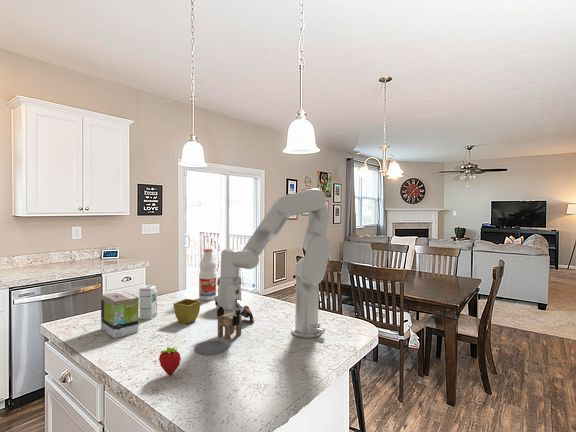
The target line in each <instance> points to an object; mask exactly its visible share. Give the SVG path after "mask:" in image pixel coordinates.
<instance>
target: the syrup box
mask: <svg viewBox="0 0 576 432" xmlns="http://www.w3.org/2000/svg"><path fill="white" fill-rule="evenodd" d="M138 291H139V292H138V293H139V294H138V295H139V296H138V297H139V319H140V320H153V319H154V318H155V317H157V315H158V313H157V312H158V307H157V305H158V304H157V302H158V300H157V299H158V298H157V297H158V294H157V285H154V284H153V285H151V284H149V285H144V286H141V287H139V289H138Z"/></svg>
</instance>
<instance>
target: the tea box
mask: <svg viewBox="0 0 576 432" xmlns="http://www.w3.org/2000/svg"><path fill="white" fill-rule="evenodd" d="M100 299H101V300H100V304H101V305H100V329H101V331H102V330H103V331H104V332H105V333H106V334H108V335H109V336H110V337H112V338H114V339H117V338H121V337H124V336H128V335H132V334H133V335H134V334H137V333H139V314H140V299H139V296H136V295H134V294H132V293H130V292H127V291H117V292H112V293H107V294H106V293H105V294H101V297H100Z"/></svg>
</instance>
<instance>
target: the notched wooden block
mask: <svg viewBox="0 0 576 432" xmlns="http://www.w3.org/2000/svg"><path fill="white" fill-rule="evenodd" d="M233 316H234V314H233V313H232V312H229V313H226V314H225V313H224V315H222V316H219V317H218V320H217V337H218V338H222V337H224V340H226V341H229V340H231V334H233V333H235V335H236V336H237V337H240V336H242V321H243V320H242V318H243V316H241V315H240V324H239V325H236V326H233V325H232V323H233Z"/></svg>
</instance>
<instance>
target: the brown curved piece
mask: <svg viewBox="0 0 576 432" xmlns="http://www.w3.org/2000/svg"><path fill="white" fill-rule="evenodd" d="M235 311H236V312H237V310H235ZM231 313H233V312H231ZM241 316H242V317H243V318H244V319H245V318H249V321H251V324H252V325H253V324H254V323H255V318H254V315H253V313H252V311H251V310H250V307H249V306H248V305H244V309H243V312H242V313H241Z"/></svg>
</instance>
